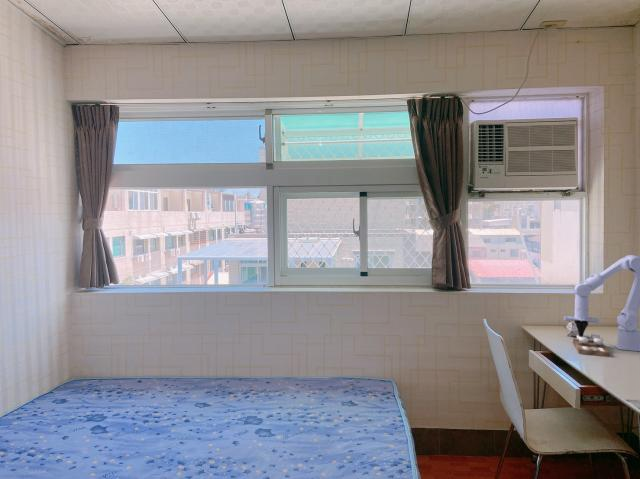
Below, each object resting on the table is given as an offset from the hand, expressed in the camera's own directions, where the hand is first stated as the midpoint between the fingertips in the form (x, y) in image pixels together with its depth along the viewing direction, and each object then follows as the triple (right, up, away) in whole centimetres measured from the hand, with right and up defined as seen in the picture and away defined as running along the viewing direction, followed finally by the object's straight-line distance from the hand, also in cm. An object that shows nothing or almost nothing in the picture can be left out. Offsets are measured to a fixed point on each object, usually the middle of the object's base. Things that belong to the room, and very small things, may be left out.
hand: (580, 336), depth 213 cm
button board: (0, -5, -7) cm, 8 cm away
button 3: (+3, -1, -9) cm, 9 cm away
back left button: (0, -2, 0) cm, 2 cm away
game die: (+5, -4, +15) cm, 16 cm away
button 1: (-3, -1, -6) cm, 7 cm away
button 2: (+6, -1, -2) cm, 6 cm away
